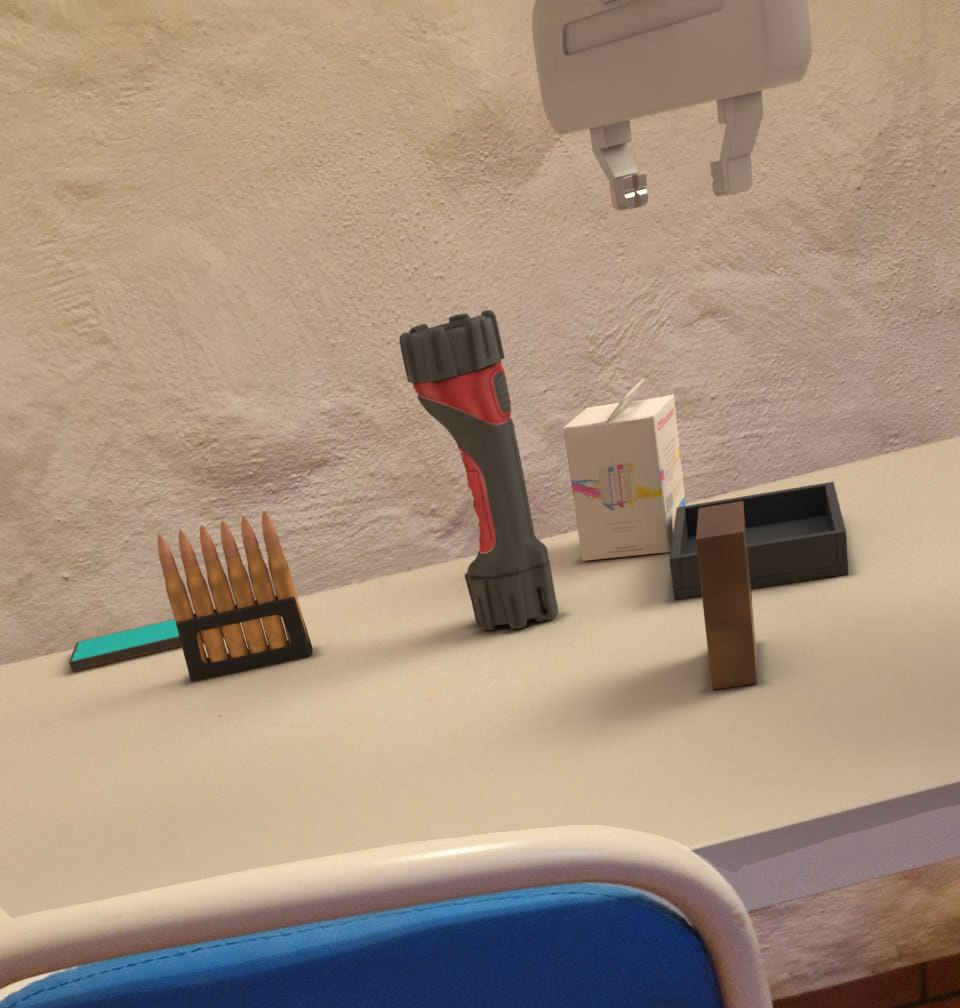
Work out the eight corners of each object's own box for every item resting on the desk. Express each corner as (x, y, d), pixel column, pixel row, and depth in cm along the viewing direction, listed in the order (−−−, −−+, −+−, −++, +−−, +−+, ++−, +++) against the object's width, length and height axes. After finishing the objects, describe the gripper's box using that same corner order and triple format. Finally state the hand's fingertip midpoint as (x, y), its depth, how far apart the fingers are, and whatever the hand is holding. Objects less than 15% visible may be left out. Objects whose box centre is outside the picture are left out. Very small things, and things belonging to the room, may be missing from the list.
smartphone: (226, 625, 129) (68, 662, 129) (229, 634, 130) (71, 671, 129) (227, 606, 135) (76, 641, 135) (230, 614, 136) (79, 649, 136)
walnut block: (755, 645, 100) (743, 500, 94) (757, 684, 93) (743, 531, 88) (713, 650, 100) (698, 508, 95) (712, 690, 94) (695, 539, 89)
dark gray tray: (835, 520, 123) (833, 481, 121) (848, 574, 109) (846, 531, 107) (680, 544, 126) (676, 507, 124) (674, 600, 112) (669, 558, 111)
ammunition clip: (313, 649, 121) (275, 506, 114) (312, 655, 119) (274, 511, 113) (193, 675, 121) (149, 534, 115) (191, 682, 120) (146, 539, 113)
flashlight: (447, 624, 119) (386, 330, 107) (531, 599, 121) (480, 306, 108) (475, 644, 113) (413, 334, 101) (564, 617, 114) (513, 308, 102)
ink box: (603, 535, 134) (582, 385, 127) (689, 525, 131) (672, 371, 124) (580, 563, 127) (557, 406, 120) (671, 552, 124) (652, 391, 117)
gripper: (830, -146, 70) (845, 172, 78) (586, -51, 86) (617, 206, 93) (737, -132, 68) (761, 195, 75) (503, -37, 83) (541, 226, 91)
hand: (680, 201), depth 84 cm, fingers open, 8 cm apart
